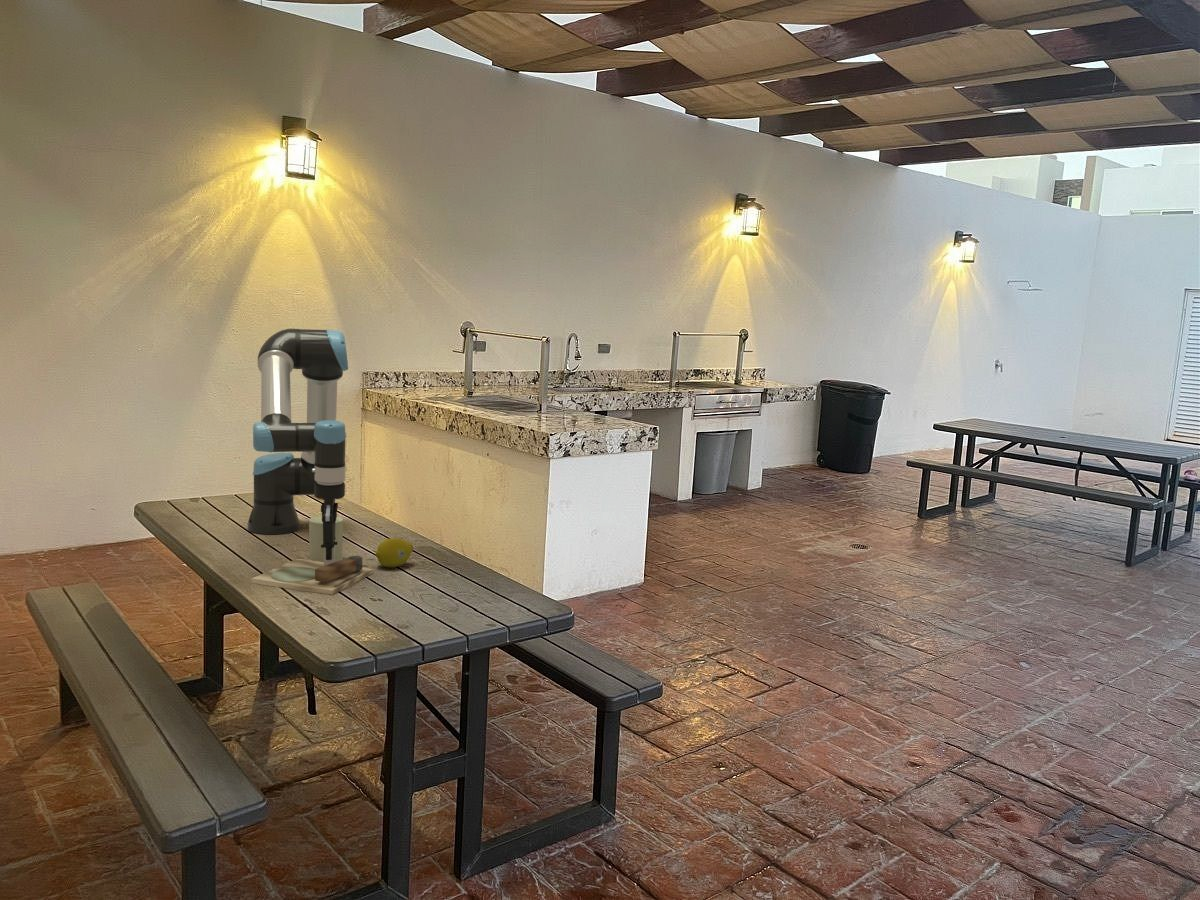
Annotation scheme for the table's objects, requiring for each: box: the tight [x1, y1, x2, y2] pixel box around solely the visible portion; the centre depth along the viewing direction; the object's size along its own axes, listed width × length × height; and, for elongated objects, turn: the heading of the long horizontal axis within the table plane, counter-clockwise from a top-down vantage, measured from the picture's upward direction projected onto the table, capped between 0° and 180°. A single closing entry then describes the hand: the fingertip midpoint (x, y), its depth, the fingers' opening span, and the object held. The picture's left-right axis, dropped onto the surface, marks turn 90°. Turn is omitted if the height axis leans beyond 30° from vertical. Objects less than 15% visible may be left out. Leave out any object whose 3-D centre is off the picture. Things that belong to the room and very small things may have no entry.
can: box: [308, 515, 344, 562], centre depth 255 cm, size 9×9×12 cm
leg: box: [315, 555, 363, 583], centre depth 237 cm, size 15×4×3 cm, turn 155°
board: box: [251, 558, 374, 596], centre depth 239 cm, size 20×23×2 cm
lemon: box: [374, 537, 414, 569], centre depth 252 cm, size 11×8×8 cm
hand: (329, 570), depth 238 cm, fingers closed
